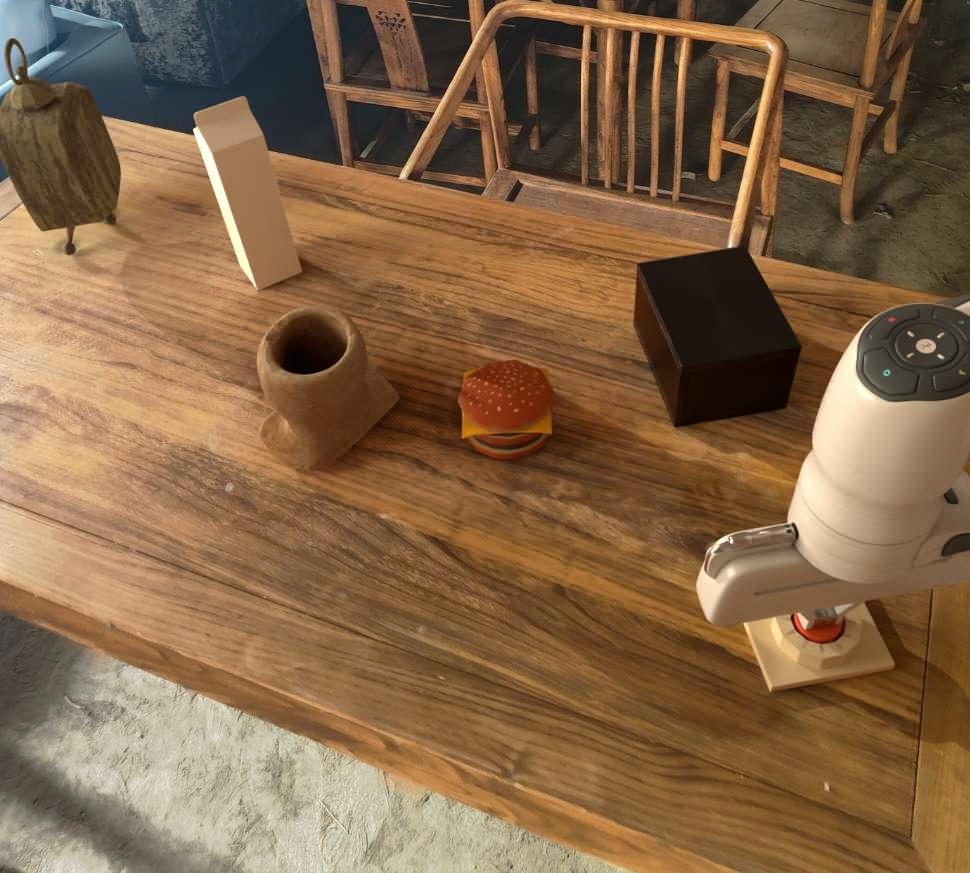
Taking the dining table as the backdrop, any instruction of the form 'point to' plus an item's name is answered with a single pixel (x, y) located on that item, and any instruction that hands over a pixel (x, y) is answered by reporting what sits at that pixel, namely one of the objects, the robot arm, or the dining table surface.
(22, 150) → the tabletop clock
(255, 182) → the milk
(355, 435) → the stone cup
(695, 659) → the dining table surface
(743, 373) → the dark brown box
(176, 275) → the dining table surface
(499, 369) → the hamburger
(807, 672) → the button base
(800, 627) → the button
